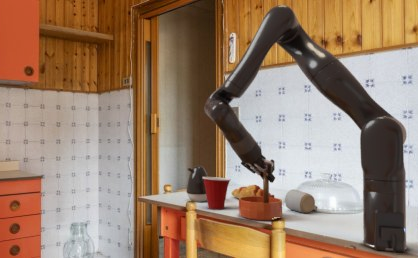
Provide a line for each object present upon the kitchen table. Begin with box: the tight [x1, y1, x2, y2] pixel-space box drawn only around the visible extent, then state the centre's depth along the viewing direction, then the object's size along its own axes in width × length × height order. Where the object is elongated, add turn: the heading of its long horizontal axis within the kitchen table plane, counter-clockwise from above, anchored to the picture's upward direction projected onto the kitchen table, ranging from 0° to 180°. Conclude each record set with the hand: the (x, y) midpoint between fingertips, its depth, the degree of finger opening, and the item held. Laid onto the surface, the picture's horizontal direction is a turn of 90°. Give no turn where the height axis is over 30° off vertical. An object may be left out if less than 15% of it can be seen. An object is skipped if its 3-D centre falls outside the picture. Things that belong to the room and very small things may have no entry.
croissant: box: [231, 184, 275, 200], centre depth 174 cm, size 21×10×8 cm, turn 40°
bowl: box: [238, 196, 283, 222], centre depth 139 cm, size 14×14×6 cm
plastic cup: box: [203, 176, 231, 210], centre depth 156 cm, size 11×11×12 cm
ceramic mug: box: [284, 189, 318, 214], centre depth 148 cm, size 11×8×8 cm
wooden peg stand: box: [262, 169, 270, 203], centre depth 138 cm, size 5×5×14 cm
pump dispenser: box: [185, 165, 209, 203], centre depth 172 cm, size 10×10×15 cm
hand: (270, 180), depth 139 cm, fingers closed on wooden peg stand
